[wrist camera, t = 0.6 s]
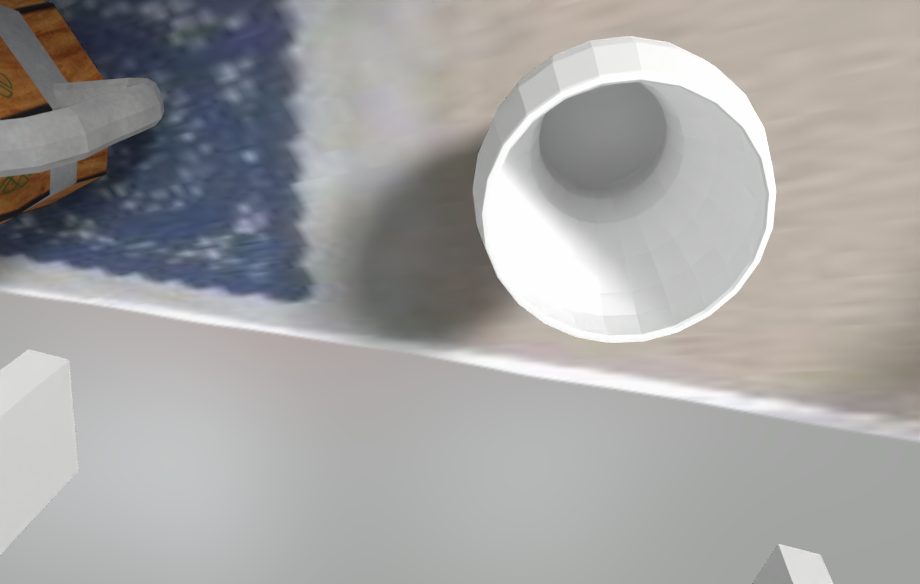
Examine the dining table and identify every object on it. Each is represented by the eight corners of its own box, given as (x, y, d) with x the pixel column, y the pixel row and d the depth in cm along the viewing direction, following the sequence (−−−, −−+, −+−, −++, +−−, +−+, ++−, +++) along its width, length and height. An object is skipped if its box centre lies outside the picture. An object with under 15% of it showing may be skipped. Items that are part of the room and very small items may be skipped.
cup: (521, 232, 38) (502, 376, 25) (477, 44, 34) (427, 99, 21) (711, 195, 36) (802, 333, 23) (690, -12, 32) (788, 9, 18)
